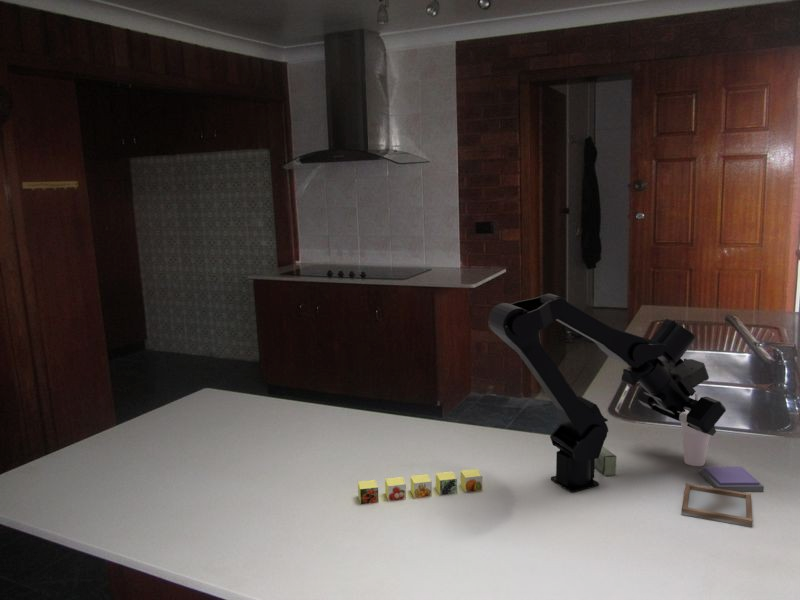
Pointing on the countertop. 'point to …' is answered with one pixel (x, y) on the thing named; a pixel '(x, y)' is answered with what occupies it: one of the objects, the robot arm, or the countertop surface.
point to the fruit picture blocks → (420, 486)
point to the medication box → (606, 462)
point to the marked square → (717, 504)
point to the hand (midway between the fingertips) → (701, 428)
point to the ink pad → (731, 479)
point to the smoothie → (693, 442)
